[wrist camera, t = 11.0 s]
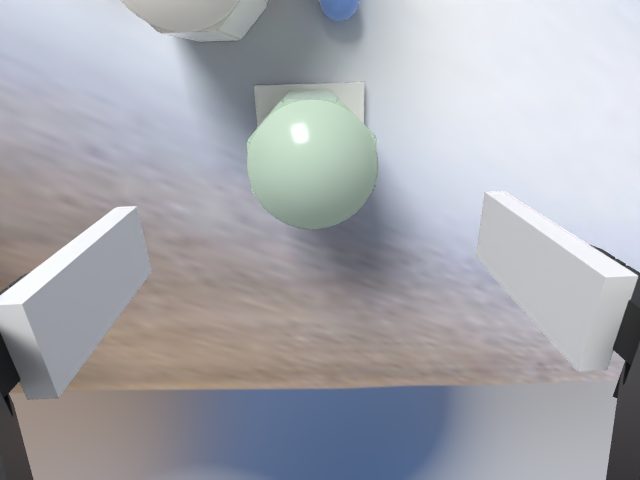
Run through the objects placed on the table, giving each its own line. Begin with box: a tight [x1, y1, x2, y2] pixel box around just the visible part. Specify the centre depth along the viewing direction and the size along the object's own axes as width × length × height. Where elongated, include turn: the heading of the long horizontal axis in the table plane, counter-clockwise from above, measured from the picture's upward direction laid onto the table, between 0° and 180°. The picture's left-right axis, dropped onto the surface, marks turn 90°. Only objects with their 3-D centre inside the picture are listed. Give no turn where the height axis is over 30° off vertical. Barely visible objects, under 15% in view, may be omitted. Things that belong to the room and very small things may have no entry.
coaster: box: [254, 82, 364, 127], centre depth 35 cm, size 9×9×1 cm
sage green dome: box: [247, 89, 378, 229], centre depth 30 cm, size 8×8×10 cm
